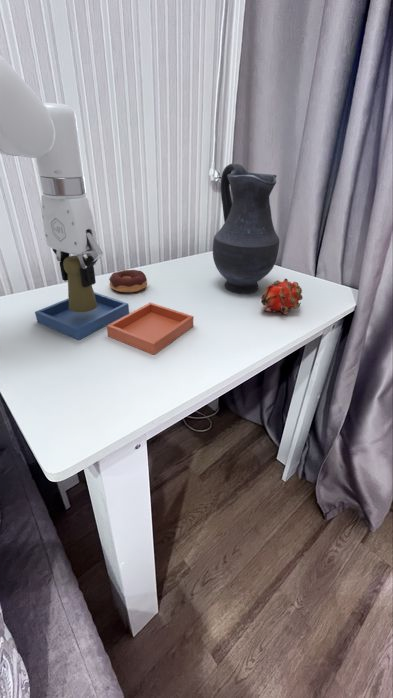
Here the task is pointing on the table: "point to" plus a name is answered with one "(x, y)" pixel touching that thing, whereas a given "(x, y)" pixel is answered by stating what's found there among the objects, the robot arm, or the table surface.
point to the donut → (128, 281)
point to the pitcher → (245, 230)
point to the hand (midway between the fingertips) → (79, 281)
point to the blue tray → (82, 316)
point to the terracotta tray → (150, 327)
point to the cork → (78, 287)
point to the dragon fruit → (282, 296)
